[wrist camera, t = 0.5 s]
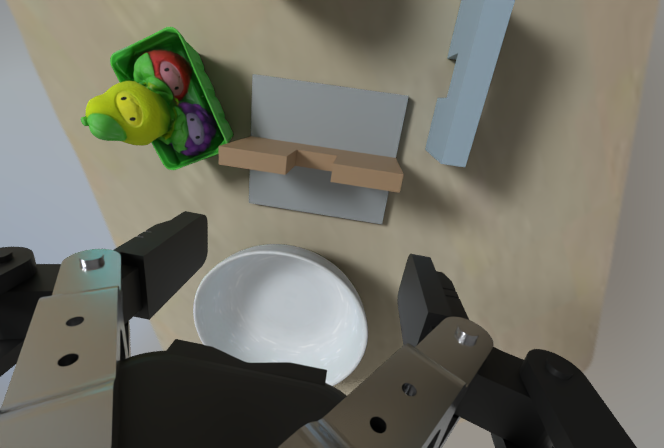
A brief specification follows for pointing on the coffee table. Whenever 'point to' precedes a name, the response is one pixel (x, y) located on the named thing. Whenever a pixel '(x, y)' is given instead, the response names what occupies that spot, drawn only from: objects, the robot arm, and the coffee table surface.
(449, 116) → the slotted plate
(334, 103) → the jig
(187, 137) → the fruit basket
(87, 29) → the coffee table surface
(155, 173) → the coffee table surface
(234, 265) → the serving bowl
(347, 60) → the coffee table surface
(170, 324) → the coffee table surface
